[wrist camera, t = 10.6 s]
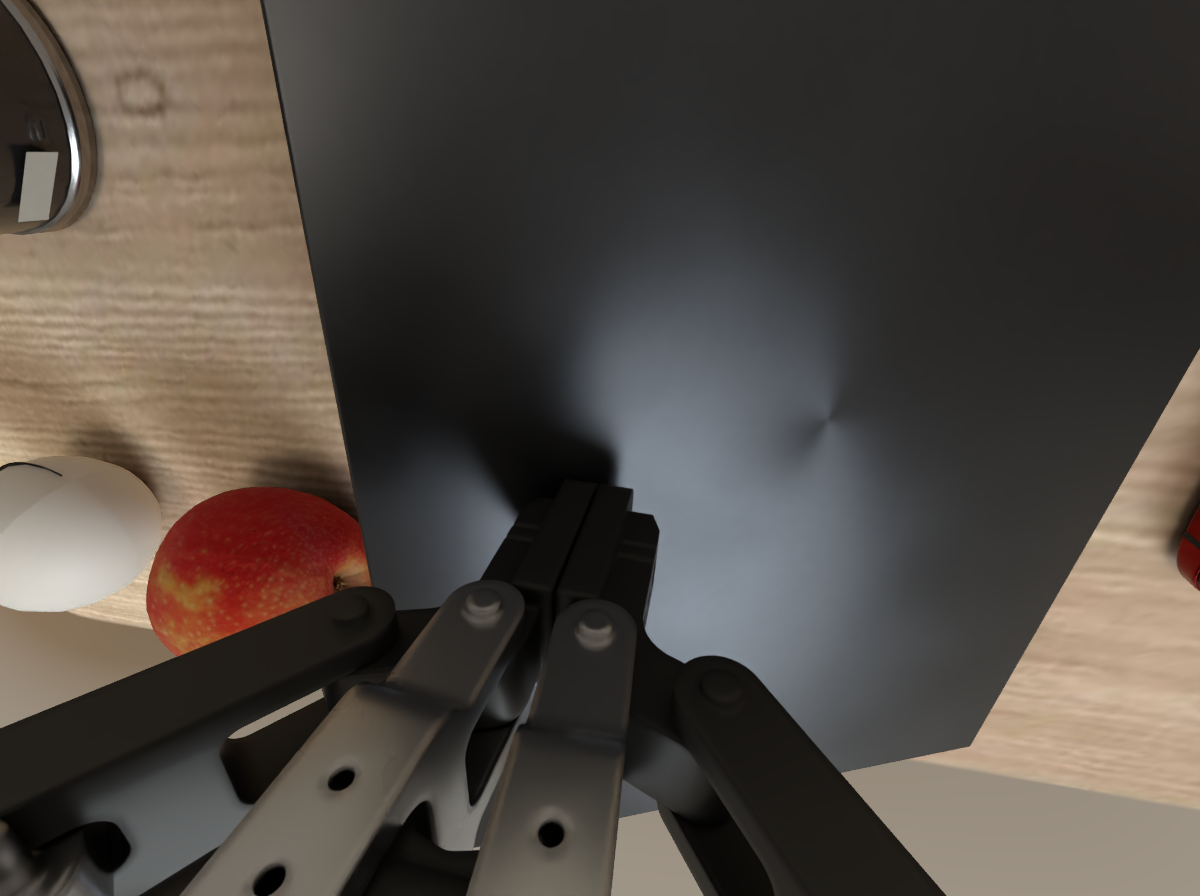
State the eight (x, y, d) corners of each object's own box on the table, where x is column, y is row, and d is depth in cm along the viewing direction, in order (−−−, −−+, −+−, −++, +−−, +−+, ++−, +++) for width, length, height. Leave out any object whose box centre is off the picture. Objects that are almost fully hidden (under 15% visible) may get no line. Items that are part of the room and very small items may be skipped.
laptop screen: (424, 829, 19) (422, 859, 18) (45, -1266, 4) (-41, -1563, 4) (953, 726, 23) (970, 747, 22) (1611, -489, 9) (1721, -549, 8)
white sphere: (171, 437, 27) (0, 522, 21) (216, 557, 31) (81, 661, 24) (8, 414, 29) (-196, 486, 23) (68, 530, 32) (-95, 621, 26)
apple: (247, 440, 26) (73, 541, 19) (411, 482, 25) (291, 604, 18) (270, 568, 30) (132, 690, 23) (413, 608, 29) (314, 748, 22)
